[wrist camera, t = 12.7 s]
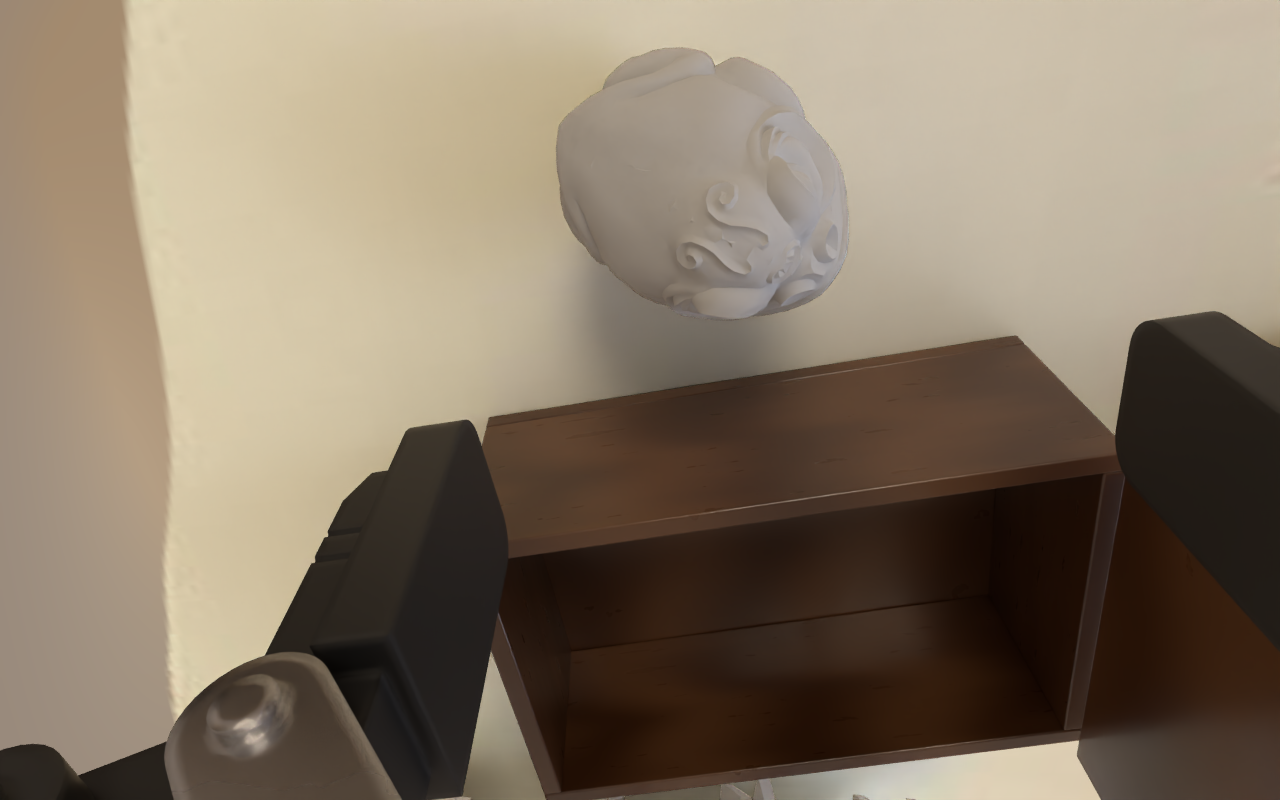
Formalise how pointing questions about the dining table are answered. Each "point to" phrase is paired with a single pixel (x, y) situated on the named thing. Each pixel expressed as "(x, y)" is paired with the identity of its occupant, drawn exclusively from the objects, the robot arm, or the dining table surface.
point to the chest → (802, 570)
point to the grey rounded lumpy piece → (704, 186)
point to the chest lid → (1177, 678)
